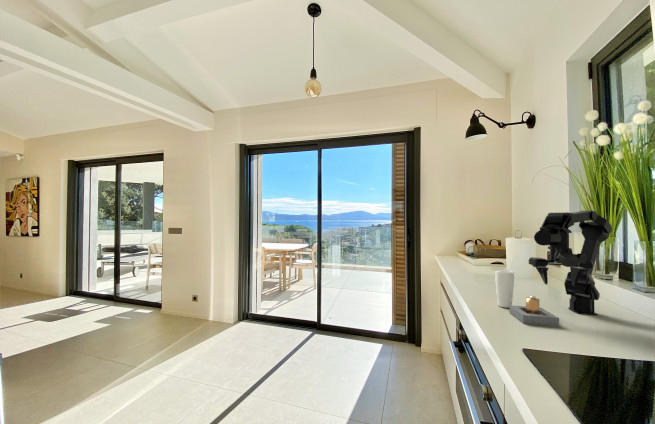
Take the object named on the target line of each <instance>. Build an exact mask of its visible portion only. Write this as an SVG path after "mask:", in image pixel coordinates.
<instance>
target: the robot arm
mask: <svg viewBox="0 0 655 424" xmlns="http://www.w3.org/2000/svg"><path fill="white" fill-rule="evenodd" d="M576 223H578V227H579V228H580V229H581V234H582V236H583V239H584V240H583V245H582V246H581V251H580V253H573V249H572V248H571V247H570V234H572V233H573V231H572V230H571V229H570V228H572V226H574V225H575V224H576ZM612 231H613V226H612V224H611V223H610V222H609V220H608V219H607V218H605V217H603V216H601V215H599V214H598V213H597V211H595V210H580V211H575V212H568V211H567V212H549V213H547V215H546V216H545V217H544V220H543V222H542V224H541V226H540V227H539V230H538V231H537V232H535V233H534V236H533V238H534V241H535V243H536V244H537V245H539V246H547V250H549V256H547V258H542V257H533V256H531V257H530V258H529V259H528V264H529V265H530V266H531V265H532V267H533V268H536V271H537V272H538V273H539V275H540V277H541V280H542V282H543V283H544V284H545V285H548V283H549V282H548V281H549V280H548V270H549V267H547V266H549V265H550V266H563V267H566V268H570V269H569V270H570V271H568V273H567V275H566V278H565V280H564V283H563V285H564V288H565V293H566V295H569V296H570V298H569V307H568V310H570V311H573V312H574V313H577V314H579V315H592V316H593V315H594V316H598V313H596V311H595V301H599V299H600V295H601V293H600V292H599V290H598V289H597V287H596V285H595V284H596V282H595V280H594V277H593V275H592V274H593V272H594V267H595V264H596V261H597V258H598V254H599V252H600V251H599V250H600V247H601V244H602V243H603V242H605V241H607V240H608V239H609V236H610V234H611V233H612Z"/></svg>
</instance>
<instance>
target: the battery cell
mask: <svg viewBox="0 0 655 424" xmlns="http://www.w3.org/2000/svg"><path fill="white" fill-rule="evenodd" d="M525 307H526V313H527V314H540V311H539V308H540V299H539V298H537V297H536V296H535V295H529V296H527V297H525Z"/></svg>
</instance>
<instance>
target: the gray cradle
mask: <svg viewBox="0 0 655 424" xmlns="http://www.w3.org/2000/svg"><path fill="white" fill-rule="evenodd" d="M539 311H540V314H527V313H526V305H525V306H522V305H513V304H512V305H510V308H509V314H511V316H513V317H514V318H515V319H516V320H518V321H519V322H520V323H522V324H524V325H525V324H527V325H535V326H547V327H548V326H549V327H558V328H559V327H560V318H559V316H556V315H555V314H554V313H551V312H550V311H548V310H546V309H544V308H542V307H539Z"/></svg>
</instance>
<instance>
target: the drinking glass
mask: <svg viewBox="0 0 655 424" xmlns="http://www.w3.org/2000/svg"><path fill="white" fill-rule="evenodd" d="M494 279H495V290H496V302H497V305H498V307H500V308H505V309H510V305H512V306H513V301H514V299H513V297H514V287H515V272H514V271H512V270H508V269H496V270H495V272H494Z"/></svg>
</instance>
